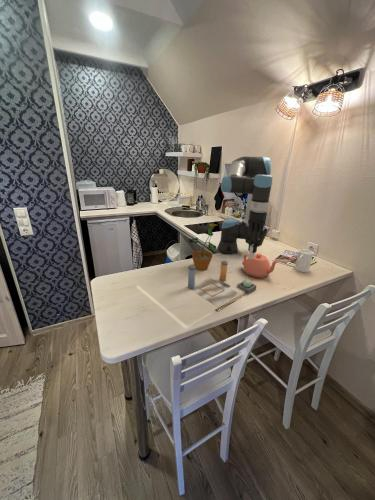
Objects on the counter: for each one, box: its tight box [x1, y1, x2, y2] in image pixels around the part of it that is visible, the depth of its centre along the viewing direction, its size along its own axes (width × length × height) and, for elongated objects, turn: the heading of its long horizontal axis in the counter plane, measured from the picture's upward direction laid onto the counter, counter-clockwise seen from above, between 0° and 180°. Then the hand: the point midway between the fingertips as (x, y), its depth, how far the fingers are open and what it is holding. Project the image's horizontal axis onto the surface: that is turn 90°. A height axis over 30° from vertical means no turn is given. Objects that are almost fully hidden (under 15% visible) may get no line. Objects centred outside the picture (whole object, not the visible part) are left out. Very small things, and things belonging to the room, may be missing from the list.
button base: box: [236, 281, 257, 295], centre depth 116 cm, size 7×7×2 cm
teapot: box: [242, 252, 280, 278], centre depth 130 cm, size 22×16×12 cm
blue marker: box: [187, 264, 196, 290], centre depth 112 cm, size 4×4×12 cm
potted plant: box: [188, 223, 217, 272], centre depth 130 cm, size 18×19×30 cm
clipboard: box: [186, 276, 245, 312], centre depth 112 cm, size 24×20×1 cm
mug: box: [294, 248, 314, 273], centre depth 137 cm, size 12×8×12 cm
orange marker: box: [219, 260, 229, 282], centre depth 120 cm, size 4×4×12 cm
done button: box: [242, 278, 253, 288], centre depth 115 cm, size 4×4×3 cm
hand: (251, 257), depth 109 cm, fingers closed
